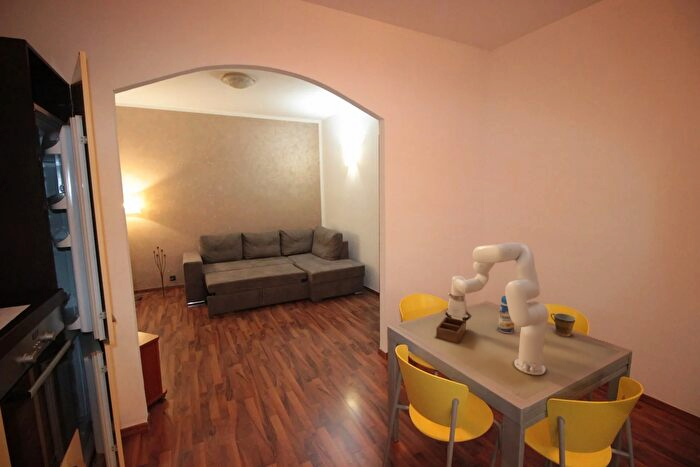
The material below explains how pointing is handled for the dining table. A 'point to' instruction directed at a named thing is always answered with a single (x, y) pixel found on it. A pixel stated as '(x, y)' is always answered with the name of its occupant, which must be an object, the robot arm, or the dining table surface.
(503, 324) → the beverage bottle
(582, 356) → the dining table surface
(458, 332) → the brown open box
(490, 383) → the dining table surface
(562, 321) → the ceramic cup
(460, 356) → the dining table surface
